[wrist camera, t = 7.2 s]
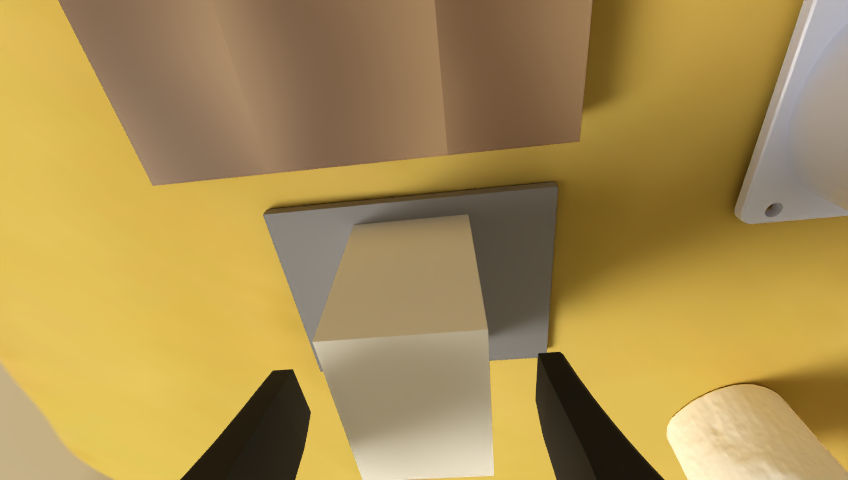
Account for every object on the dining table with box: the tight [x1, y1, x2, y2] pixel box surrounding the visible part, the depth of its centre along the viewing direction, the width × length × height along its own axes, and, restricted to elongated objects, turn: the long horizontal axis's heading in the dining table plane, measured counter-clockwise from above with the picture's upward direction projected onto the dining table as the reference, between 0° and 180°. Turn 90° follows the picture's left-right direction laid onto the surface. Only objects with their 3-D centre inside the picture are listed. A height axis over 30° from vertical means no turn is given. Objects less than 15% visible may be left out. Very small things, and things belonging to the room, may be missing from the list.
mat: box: [263, 182, 558, 372], centre depth 15 cm, size 10×8×1 cm
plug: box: [313, 214, 494, 480], centre depth 13 cm, size 4×6×6 cm, turn 7°
